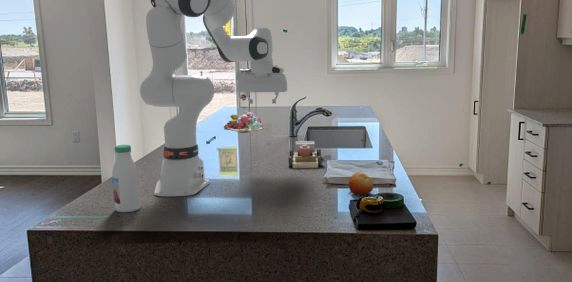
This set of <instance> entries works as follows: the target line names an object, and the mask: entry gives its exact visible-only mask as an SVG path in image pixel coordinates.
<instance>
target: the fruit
mask: <svg viewBox="0 0 572 282" xmlns="http://www.w3.org/2000/svg"><path fill="white" fill-rule="evenodd" d="M348 188H349V192H348V195H349V194H353V195H355V196H358V195H359V197H365V196H366V195H368V194H370V193H371V192H372V191H373V189H374V183H373V180H372V178H370V176H368V175H367V174H365V173H361V172H356V173H354V174H352V175H351V176H350V178H349V180H348Z"/></svg>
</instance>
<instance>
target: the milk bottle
mask: <svg viewBox="0 0 572 282" xmlns="http://www.w3.org/2000/svg"><path fill="white" fill-rule="evenodd" d="M114 152H115V155H116V157H115V161H114V164H113V167H112V174H111V175H112V188H113V200H114V209H115V211H116V212H118V213H131V212H135V211H138V210H140V209H141V207H142V202H141V189H140V179H139V178H140V177H139V170H138V168H137V165H136V163H135V162H134V160H133V158H132V157H133V156H132V155H131V153H132V146H131V145H130V144H120V145H119V144H118V145H116V146H115V147H114Z"/></svg>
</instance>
